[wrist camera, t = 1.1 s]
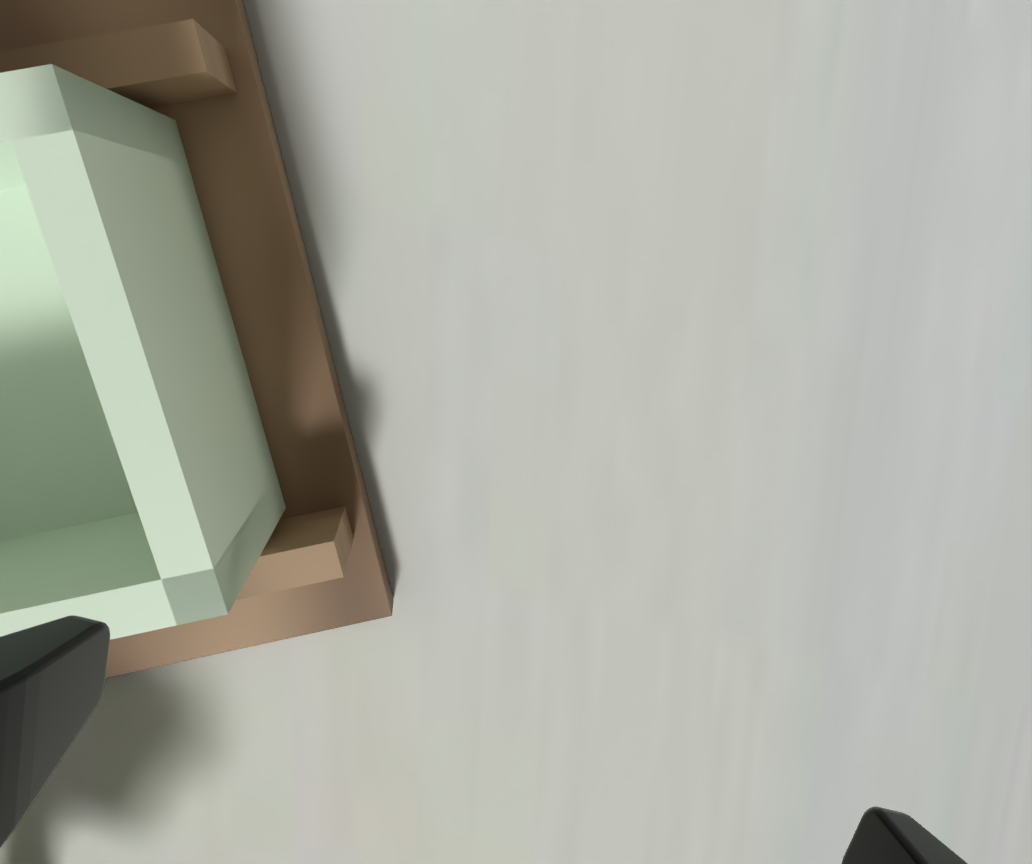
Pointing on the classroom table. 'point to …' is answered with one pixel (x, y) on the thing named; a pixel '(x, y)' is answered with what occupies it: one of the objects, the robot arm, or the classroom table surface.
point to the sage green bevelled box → (117, 374)
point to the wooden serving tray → (236, 304)
